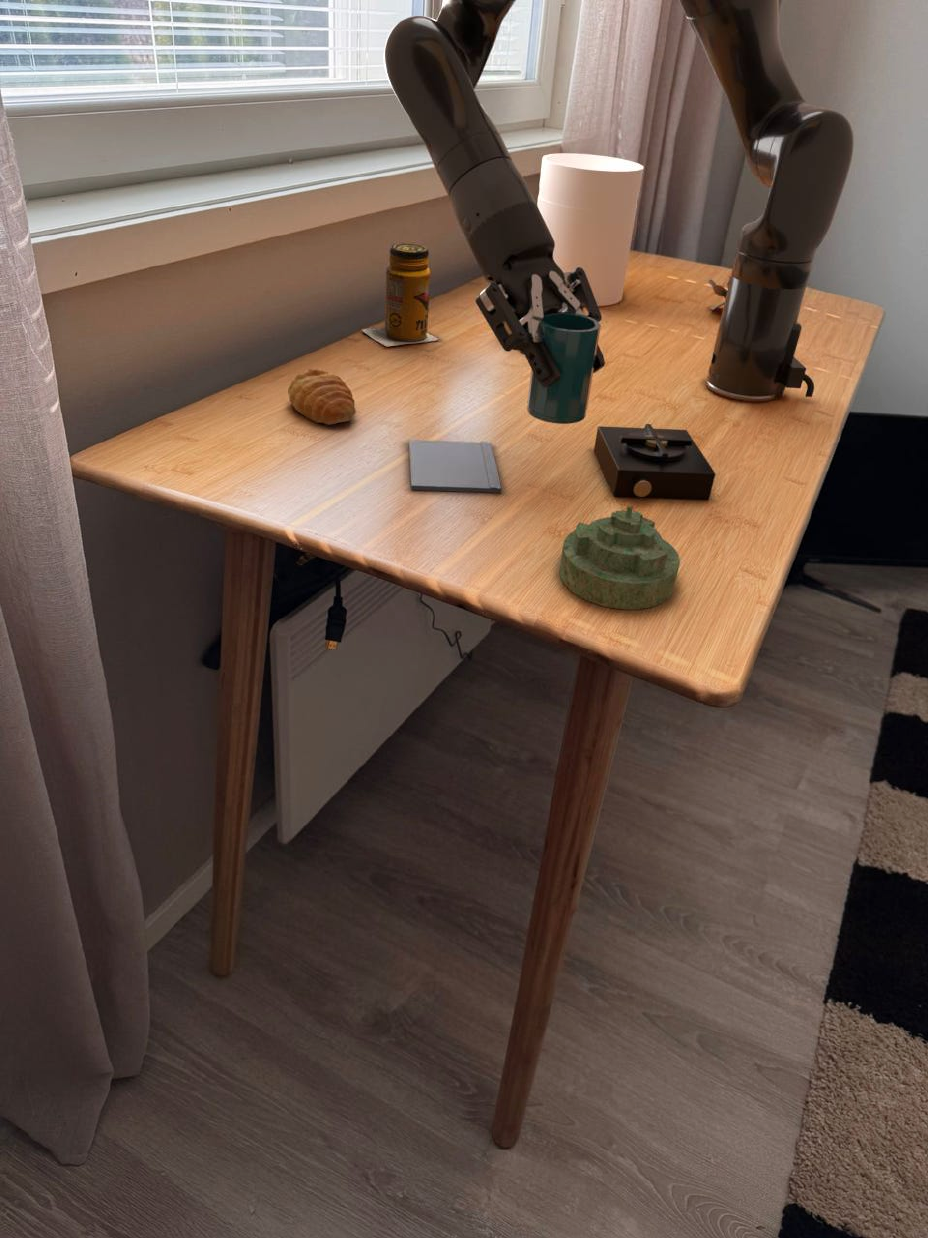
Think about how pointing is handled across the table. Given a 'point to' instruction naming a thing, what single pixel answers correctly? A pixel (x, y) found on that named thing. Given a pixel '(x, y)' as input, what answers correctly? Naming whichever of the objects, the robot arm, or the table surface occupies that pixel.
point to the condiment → (405, 297)
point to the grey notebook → (453, 466)
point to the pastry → (321, 397)
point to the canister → (591, 216)
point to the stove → (653, 463)
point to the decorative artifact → (619, 562)
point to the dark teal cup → (566, 368)
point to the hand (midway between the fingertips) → (575, 376)
